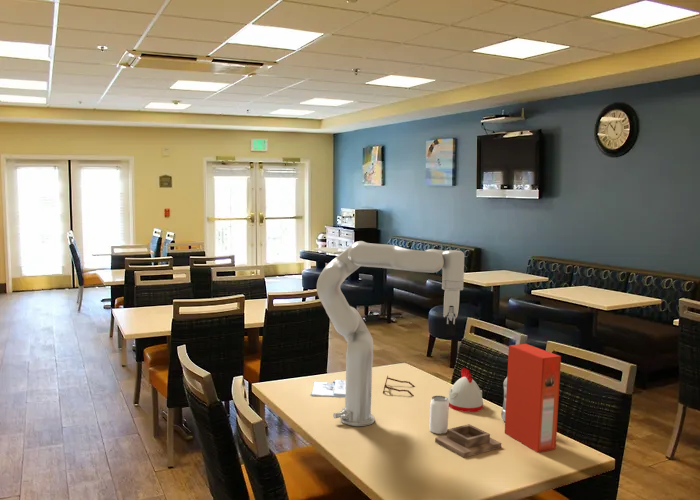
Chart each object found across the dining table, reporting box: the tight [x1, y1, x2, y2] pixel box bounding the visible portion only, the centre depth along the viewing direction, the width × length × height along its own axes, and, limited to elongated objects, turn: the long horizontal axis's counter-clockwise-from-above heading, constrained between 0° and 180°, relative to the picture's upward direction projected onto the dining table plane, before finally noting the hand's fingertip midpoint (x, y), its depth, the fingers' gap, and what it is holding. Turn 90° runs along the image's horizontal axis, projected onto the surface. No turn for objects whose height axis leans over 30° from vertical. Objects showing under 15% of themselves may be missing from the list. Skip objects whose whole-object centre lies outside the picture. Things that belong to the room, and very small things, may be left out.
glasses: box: [382, 375, 416, 397], centre depth 262 cm, size 13×13×5 cm
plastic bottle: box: [501, 376, 507, 422], centre depth 229 cm, size 6×7×20 cm
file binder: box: [504, 343, 562, 453], centre depth 211 cm, size 8×17×32 cm, turn 23°
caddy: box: [434, 424, 502, 458], centre depth 207 cm, size 17×14×4 cm
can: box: [428, 395, 450, 435], centre depth 218 cm, size 6×6×12 cm
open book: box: [310, 379, 346, 398], centre depth 261 cm, size 19×20×2 cm
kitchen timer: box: [447, 367, 484, 413], centre depth 245 cm, size 14×14×15 cm
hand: (451, 332), depth 221 cm, fingers open, 9 cm apart
